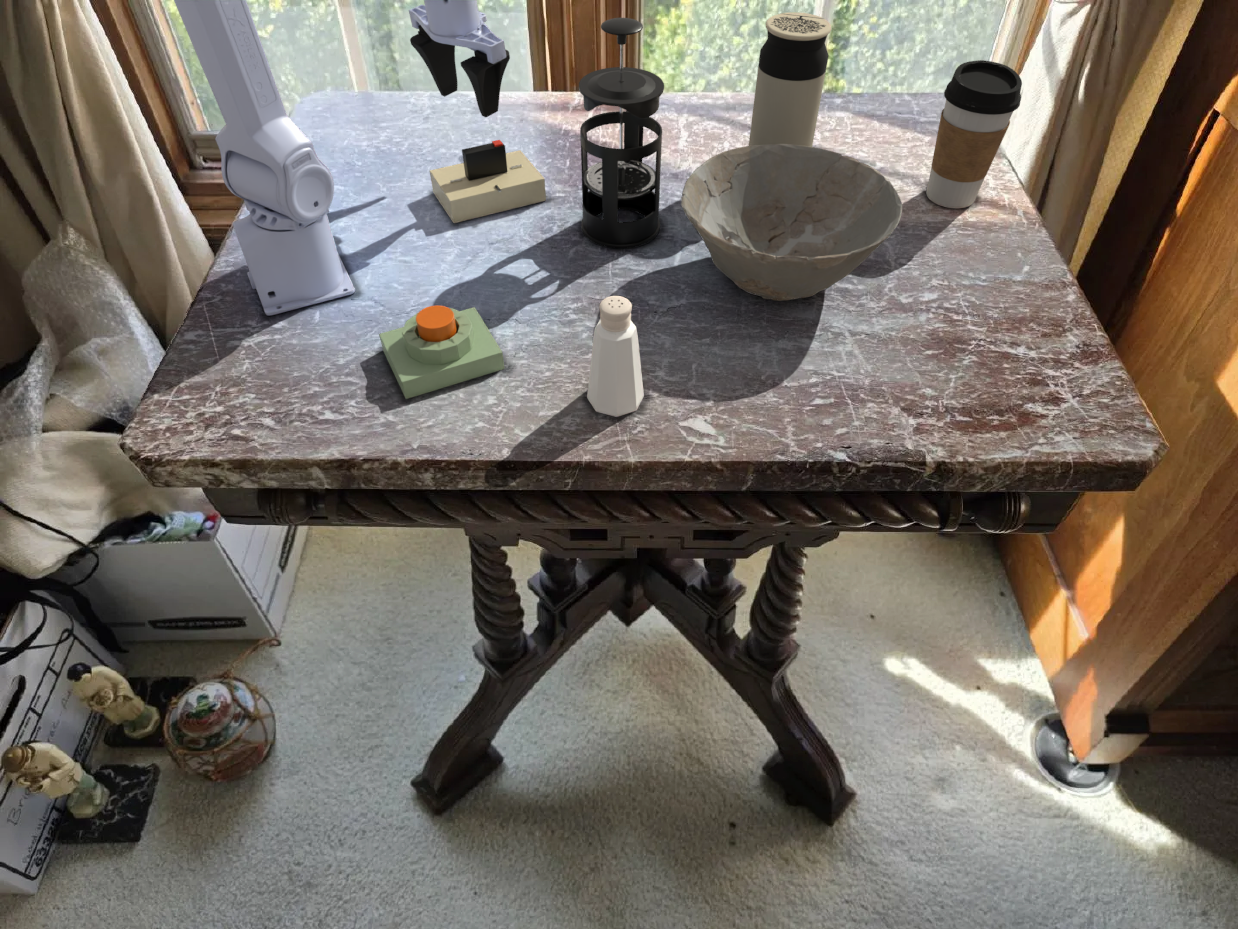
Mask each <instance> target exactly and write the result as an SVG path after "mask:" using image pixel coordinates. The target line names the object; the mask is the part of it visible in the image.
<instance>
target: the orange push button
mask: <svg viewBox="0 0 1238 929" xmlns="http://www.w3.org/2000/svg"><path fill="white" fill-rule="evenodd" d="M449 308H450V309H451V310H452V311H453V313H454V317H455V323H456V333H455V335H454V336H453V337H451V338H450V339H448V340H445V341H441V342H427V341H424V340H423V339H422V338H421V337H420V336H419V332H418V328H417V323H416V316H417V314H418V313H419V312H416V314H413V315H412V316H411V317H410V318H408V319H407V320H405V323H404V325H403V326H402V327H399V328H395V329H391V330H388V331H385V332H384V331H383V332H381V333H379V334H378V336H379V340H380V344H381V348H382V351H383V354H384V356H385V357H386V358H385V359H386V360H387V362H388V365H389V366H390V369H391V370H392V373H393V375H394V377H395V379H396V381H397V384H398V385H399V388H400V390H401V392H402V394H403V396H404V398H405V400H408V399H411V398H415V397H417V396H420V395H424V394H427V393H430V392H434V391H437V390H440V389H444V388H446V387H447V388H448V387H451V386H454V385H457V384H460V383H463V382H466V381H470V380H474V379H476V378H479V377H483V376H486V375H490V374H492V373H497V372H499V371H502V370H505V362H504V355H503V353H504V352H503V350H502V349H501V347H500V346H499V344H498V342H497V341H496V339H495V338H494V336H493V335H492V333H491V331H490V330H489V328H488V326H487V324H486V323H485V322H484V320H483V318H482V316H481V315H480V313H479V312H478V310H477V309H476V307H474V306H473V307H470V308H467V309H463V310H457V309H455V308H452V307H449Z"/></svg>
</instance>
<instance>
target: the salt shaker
mask: <svg viewBox="0 0 1238 929" xmlns="http://www.w3.org/2000/svg"><path fill="white" fill-rule="evenodd" d="M598 306H599V308H598V309H599V317H600V319H599V321H598V322H597V324H596V326H595V328H594V330H593V338H592V348H591V355H590V356H591V357H590V367H589V375H588V376H589V377H588V383H587V384H588V386H587V392H586V398H587V400H588V401H589V403H590V405H591V406H592V408H593V409H594V411H595V412H596V413H600V414H604V415H608V416H612V417H616V418H618V417H621V416H624V415H627V414H630V413H634V412H637V410H638V408H639V407H640V406H641V405H640V404H641V403H642V401H643V398H644V397H645V394H644V392H645V391H644V383H643V375H642V366H641V365H642V363H641V354H640V345H639V336H638V328H637V326H636V325H635V323H634V322H633V321H632V309H633V304H632V302H631V301H630V300H629V299H628V298H626V297H624V296H621V295H611V296H607V297H605V298H604V299H602V300H601V301H600V303H599V305H598Z"/></svg>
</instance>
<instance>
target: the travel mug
mask: <svg viewBox="0 0 1238 929" xmlns="http://www.w3.org/2000/svg"><path fill="white" fill-rule="evenodd" d="M765 29H766V31H767V38H766V40H765V42H764V43H763V45H762V47H761V48H760V50H759V58H758V66H757V73H756V80H755V81H756V82H755V89H754V98H753V100H754V101H753V106H752V115H751V123H750V131H749V137H748V138H749V140H748V146H750V145H770V144H792V145H800V146H808V147H813V144H814V140H815V132H816V128H817V122H818V116H819V112H820V106H821V101H822V96H823V89H824V83H825V77H826V71H827V67H828V61H829V52H828V48H827V45H826V41H827V38H828V35H829V34H830V33H831V31H832V24H831V23H830V22H829V21H828V20H827V19H825V18H824V17H822V16H819V15H818V14H817V15H816V14H813V13H809V12H801V11H800V12H798V11H789V12H782V13H776V14H774V15H772V16H770V17H768V18H767V19H766V22H765Z"/></svg>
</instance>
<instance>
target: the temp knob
mask: <svg viewBox="0 0 1238 929" xmlns="http://www.w3.org/2000/svg"><path fill="white" fill-rule="evenodd" d="M506 151H507V150H506V145H505V144H504V143H503V141H502V140H501V139H496V140H491V142H490V143H485V144H481V145H476V146H472V147H467V148H463V149H461V154H462V163H464V169H465V176H466V177H467V179H468V180H469V181H470V180H475V179H479V178H483V177H488V176H492V175H496V174H501V173H505V172H507V161H506V153H507V152H506Z"/></svg>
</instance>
